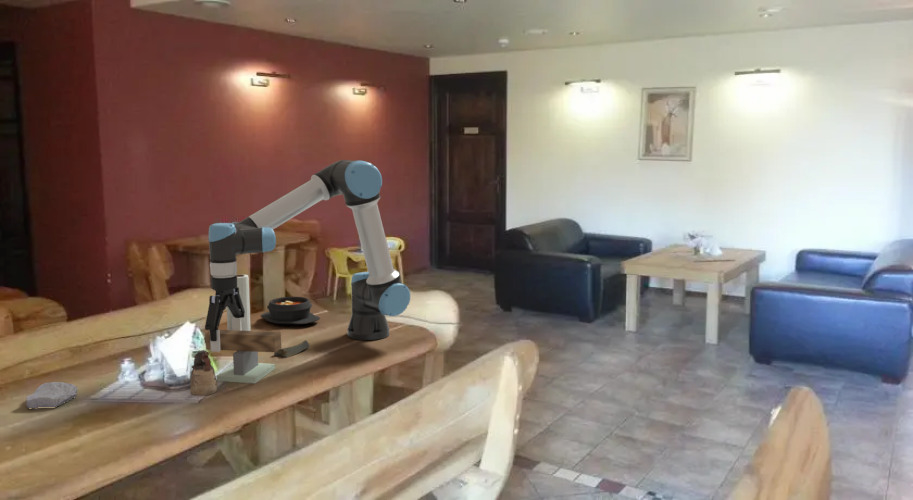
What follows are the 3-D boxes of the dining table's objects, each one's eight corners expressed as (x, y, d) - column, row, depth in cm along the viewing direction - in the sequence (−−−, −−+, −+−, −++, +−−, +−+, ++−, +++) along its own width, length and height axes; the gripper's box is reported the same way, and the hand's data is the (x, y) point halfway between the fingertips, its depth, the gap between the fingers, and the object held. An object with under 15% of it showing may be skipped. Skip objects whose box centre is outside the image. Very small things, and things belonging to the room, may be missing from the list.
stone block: (80, 400, 207) (42, 394, 205) (82, 383, 206) (44, 378, 205) (62, 417, 195) (22, 411, 194) (64, 400, 194) (24, 394, 193)
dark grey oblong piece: (282, 359, 239) (281, 348, 239) (273, 356, 243) (273, 345, 242) (315, 351, 248) (315, 341, 248) (306, 349, 252) (306, 338, 251)
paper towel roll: (254, 332, 270) (252, 274, 266) (241, 336, 265) (238, 277, 261) (240, 329, 274) (238, 272, 270) (227, 333, 268) (225, 275, 265)
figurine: (210, 385, 214) (208, 345, 212) (222, 391, 209) (220, 350, 207) (186, 391, 209) (184, 350, 207) (197, 397, 204) (195, 355, 202)
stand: (274, 368, 229) (274, 343, 228) (254, 383, 215) (253, 357, 214) (238, 366, 231) (237, 341, 230) (216, 380, 218) (215, 354, 216)
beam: (281, 348, 222) (280, 331, 222) (275, 352, 218) (274, 335, 217) (213, 345, 226) (212, 329, 225) (206, 349, 222) (205, 333, 221)
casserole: (330, 321, 287) (330, 300, 286) (296, 332, 271) (296, 309, 270) (284, 312, 300) (283, 292, 299) (249, 322, 284) (248, 301, 283)
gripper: (231, 267, 232) (234, 333, 236) (190, 283, 208) (193, 356, 211) (254, 268, 231) (256, 334, 234) (214, 284, 207) (218, 357, 210)
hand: (226, 344), depth 223 cm, fingers open, 13 cm apart
